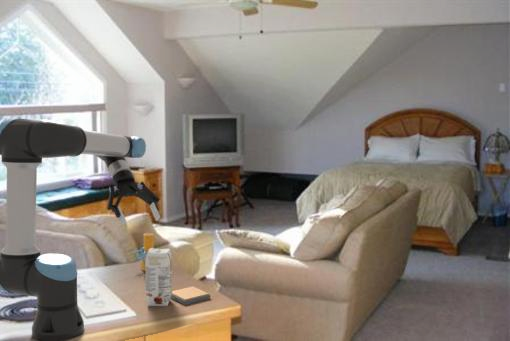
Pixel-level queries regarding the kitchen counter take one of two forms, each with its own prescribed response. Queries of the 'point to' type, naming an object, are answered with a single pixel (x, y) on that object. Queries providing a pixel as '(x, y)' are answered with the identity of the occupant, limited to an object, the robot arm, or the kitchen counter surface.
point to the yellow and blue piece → (145, 248)
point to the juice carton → (158, 277)
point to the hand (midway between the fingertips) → (141, 221)
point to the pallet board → (189, 295)
